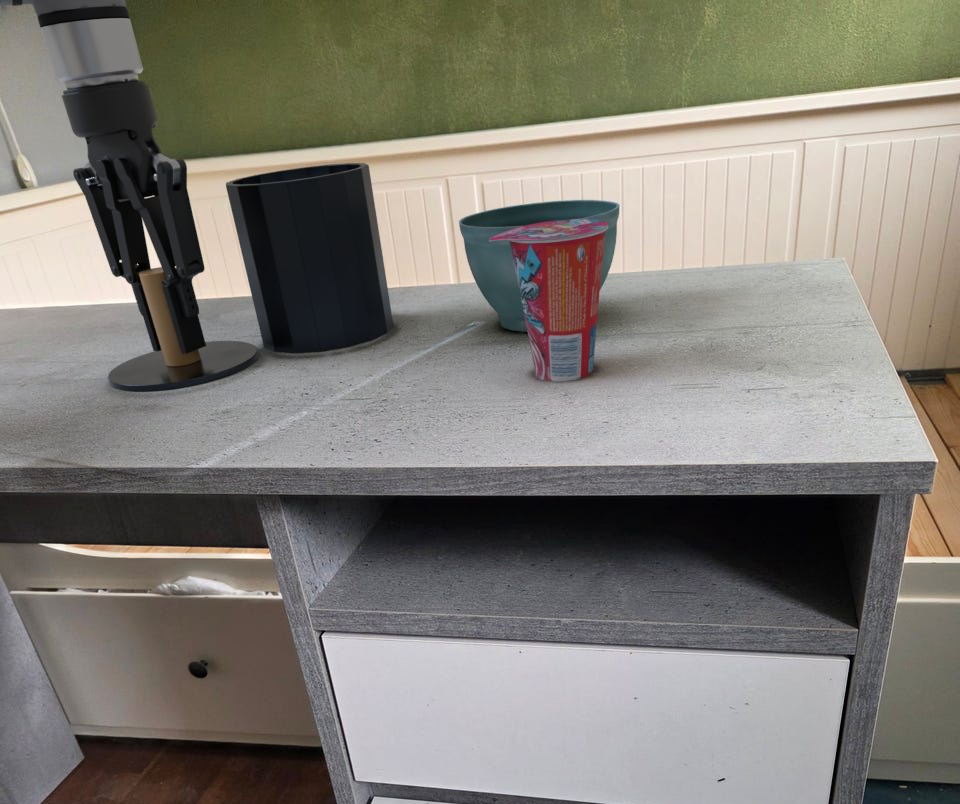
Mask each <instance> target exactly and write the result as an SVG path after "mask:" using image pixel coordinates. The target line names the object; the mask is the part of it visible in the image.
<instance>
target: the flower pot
mask: <svg viewBox="0 0 960 804" xmlns="http://www.w3.org/2000/svg"><path fill="white" fill-rule="evenodd" d="M620 207H621V205H620V203H619V202H615V201H611V200H610V201H609V200H600V199H570V200H569V199H568V200H551V201H542V202H531V203H525V204H515V205H510V206H503V207H497V208H492V209H488V210H484V211H480V212H476V213H473V214H469V215H467V216H464V217H462V218H460V219H459V220H458V226H459V231H460V234H461V236H462V238H463V245H464V251H465V255H466V259H467V263H468V266H469V269H470V272H471V275H472V277H473V279H474V282H475V284H476V286H477V287H478V290H479V291H480V293H481V294H482V296H483V298H484V299H485V300H486V302H487V303H488V304H489V305H490V307H491V308H492V309H493V310H494V311H495V312H496V313H497V316H498V320H499V324H500V326H501V327H502V328H504V329H505V330H508V331H515V332H522V333H523V332H524V333H526V332H527V326H526V321H525V316H524V311H523V306H522V301H521V296H520V291H519V286H518V281H517V276H516V271H515V266H514V261H513V256H512V251H511V246H510V241H509V240H496V241H489V239H490V238H492V237H493V236H495V235H498V234H500V233H503V232H506V231H509V230H512V229H515V228H518V227H522V226H526V225H530V224H536V223H542V222H549V221H558V220H572V219H596V220H603V221H606V222H608V229H607V230H606V232H605V242H604V253H603V263H602V273H601V282H600V291H601V290H602V287H604V284H605V282H606V280H607V278H608V274H609V272H610V269H611V267H612V263H613V260H614V256H615V250H616V246H617V236H618V235H617V233H618V232H617V231H618V221H619V220H618V219H619V216H620ZM527 333H528V332H527Z"/></svg>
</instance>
